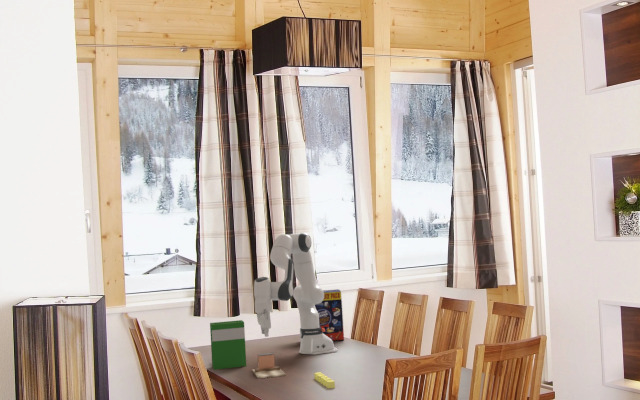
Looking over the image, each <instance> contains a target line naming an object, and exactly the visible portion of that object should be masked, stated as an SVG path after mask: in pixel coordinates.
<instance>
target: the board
mask: <svg viewBox="0 0 640 400" xmlns="http://www.w3.org/2000/svg"><path fill="white" fill-rule="evenodd" d="M251 371H252V373H253V374H254V376H255V377H256V378H257V379H258V378H259V379H266V378H267V377H268V378H278V377H285V376H286V373H285V372H284V371H283V370H282V369H281V367H280V366H275V368H265V369H258V368H252V370H251ZM268 378H267V379H268Z"/></svg>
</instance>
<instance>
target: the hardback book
mask: <svg viewBox="0 0 640 400" xmlns="http://www.w3.org/2000/svg"><path fill="white" fill-rule="evenodd" d="M209 327H210V328H209V330H210V345H211V349H210V350H211V365H212V366H211V367H212V368H213V370H222V369H223V370H224V369H230V368H231V369H232V368H242V367H241V366H243V367H247V352H246V349H247V348H246V332H245V331H246V330H245V321H244V320H243V319H239V320H230V321H217V322H210V323H209Z"/></svg>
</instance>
